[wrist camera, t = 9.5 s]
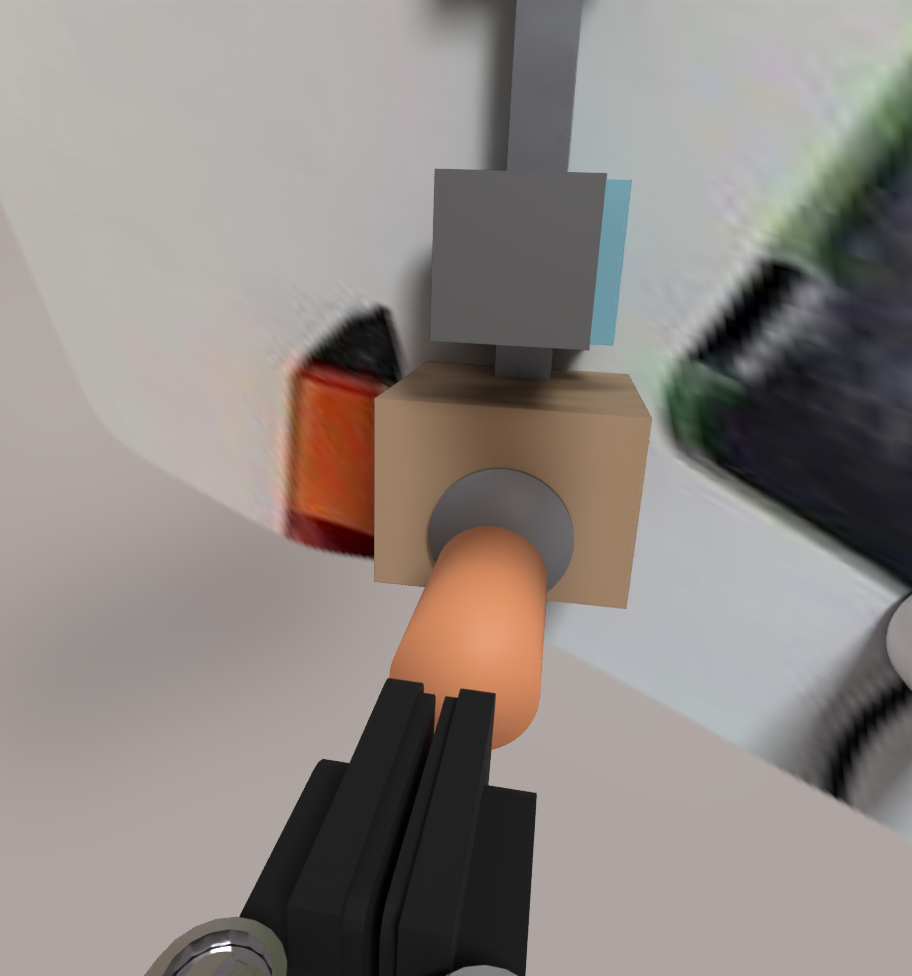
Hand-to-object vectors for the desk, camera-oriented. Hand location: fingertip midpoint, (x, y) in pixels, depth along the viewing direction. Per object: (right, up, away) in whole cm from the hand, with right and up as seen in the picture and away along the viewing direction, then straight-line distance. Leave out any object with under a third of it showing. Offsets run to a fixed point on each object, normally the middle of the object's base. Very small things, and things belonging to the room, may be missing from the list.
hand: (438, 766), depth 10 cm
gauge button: (+1, +2, +8) cm, 8 cm away
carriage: (+3, +13, +15) cm, 20 cm away
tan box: (+3, +6, +18) cm, 19 cm away
